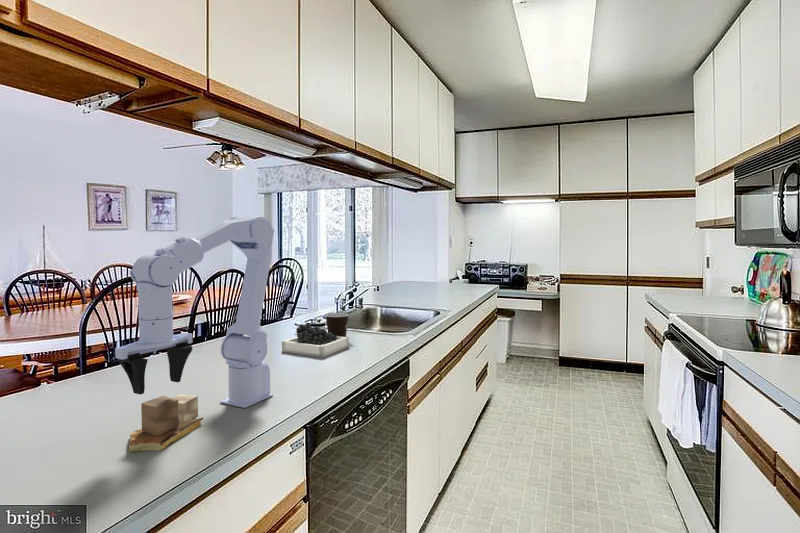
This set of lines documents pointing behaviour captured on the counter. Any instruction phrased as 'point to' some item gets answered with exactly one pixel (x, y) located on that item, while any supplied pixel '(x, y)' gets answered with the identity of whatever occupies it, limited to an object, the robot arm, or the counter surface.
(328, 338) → the fruit
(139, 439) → the shard
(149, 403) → the walnut block
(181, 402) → the maple block
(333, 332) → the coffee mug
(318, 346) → the fruit dish
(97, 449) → the counter surface
